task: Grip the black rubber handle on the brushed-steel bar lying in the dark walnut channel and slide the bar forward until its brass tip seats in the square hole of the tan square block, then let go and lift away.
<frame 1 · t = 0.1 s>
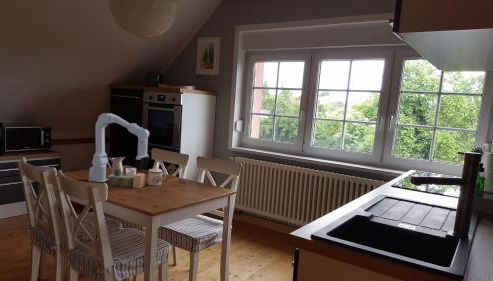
hand: (141, 169, 222), 10 cm above the table, fingers open, 7 cm apart
guide channel: (122, 184, 218), on the table
teacup with lid: (156, 184, 228), on the table
tan square block: (138, 186, 218), on the table
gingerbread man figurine: (171, 181, 242), on the table
slide bar: (120, 175, 218), point 6 cm above the table, slide at 0.0 cm
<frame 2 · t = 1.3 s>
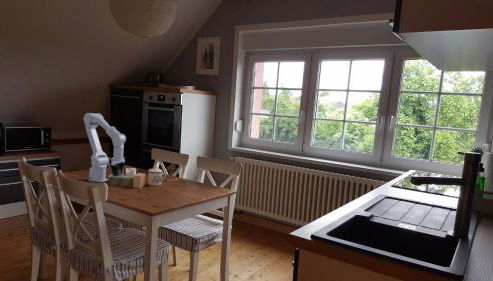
hand: (117, 174, 218), 6 cm above the table, fingers open, 7 cm apart
nothing on the table moved.
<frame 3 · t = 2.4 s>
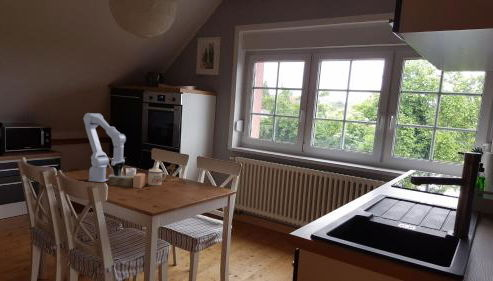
hand: (117, 174, 218), 6 cm above the table, fingers closed on slide bar, 3 cm apart
slide bar: (120, 175, 218), point 6 cm above the table, slide at 0.0 cm, touching gripper
everything else where it was.
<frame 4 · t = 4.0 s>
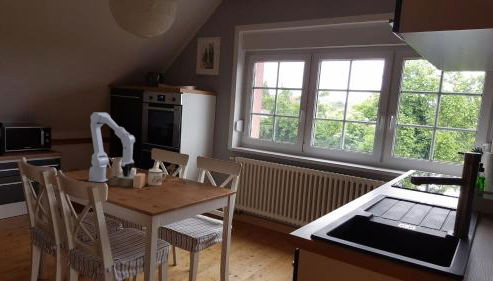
hand: (126, 175, 218), 6 cm above the table, fingers closed on slide bar, 3 cm apart
slide bar: (129, 175, 217), point 6 cm above the table, slide at 5.9 cm, touching gripper
everything else where it was.
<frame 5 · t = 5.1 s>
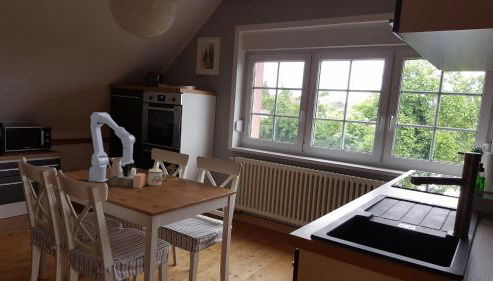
hand: (126, 175, 218), 6 cm above the table, fingers closed on slide bar, 3 cm apart
slide bar: (129, 175, 217), point 6 cm above the table, slide at 5.9 cm, touching gripper
everything else where it was.
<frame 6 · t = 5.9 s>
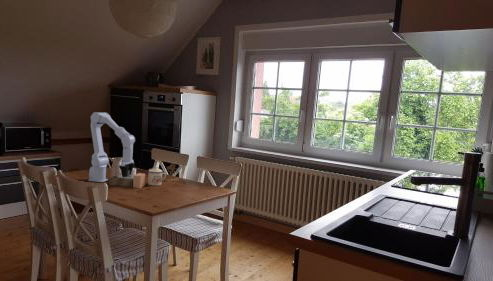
hand: (126, 175, 218), 6 cm above the table, fingers open, 7 cm apart
slide bar: (129, 175, 217), point 6 cm above the table, slide at 5.9 cm
everything else where it was.
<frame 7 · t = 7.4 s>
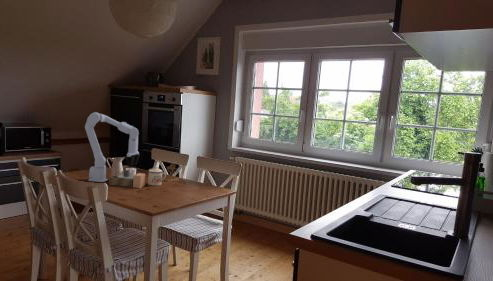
hand: (132, 166, 230), 10 cm above the table, fingers open, 7 cm apart
nothing on the table moved.
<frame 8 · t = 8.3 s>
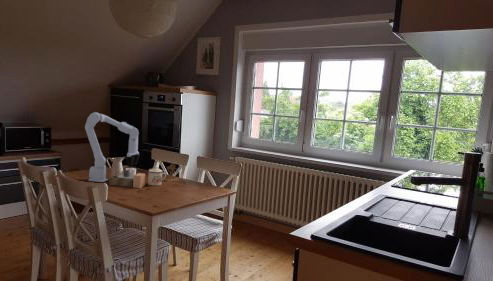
hand: (132, 166, 230), 10 cm above the table, fingers open, 7 cm apart
nothing on the table moved.
at the end: slide bar slide at 5.9 cm; the gripper is holding nothing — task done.
